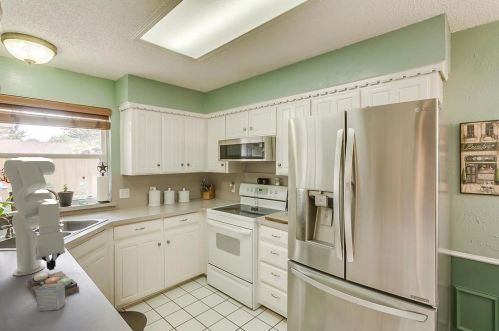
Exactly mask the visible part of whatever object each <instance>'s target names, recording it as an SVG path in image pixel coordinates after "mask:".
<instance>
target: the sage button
mask: <svg viewBox="0 0 499 331" xmlns="http://www.w3.org/2000/svg"><path fill="white" fill-rule="evenodd" d="M71 279H72V278H71V277H69V278H65V279H61V280H59V281H58V282H57V284H59V283H64V287H65V286H68V285H71Z"/></svg>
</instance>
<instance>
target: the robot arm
mask: <svg viewBox="0 0 499 331" xmlns="http://www.w3.org/2000/svg"><path fill="white" fill-rule="evenodd" d="M3 170H4V174H5V176H6V178H7V180H8V182H9V183H10V186H11V193H12V201H13V202H12V203H13V205H14V208H15V209H17V210H16V211H17V212H18V213H16V214H15V215H13V216H12V219H11V224H12V227H13V231H14V237H15V252H16V253H15V254H16V269H15V270H14V271H13V272H12V273H13V276H18V277H21V276H27V275H31V274H34V273H38V272H40V271H42V270H43V269H45V264H46V269H48V270H49V271H53V270H55V267H56V265H57V264H56V261H57V259H58V258H59V257H60V256H61V255H64V254H65V253H66V245H65V238H64V234H63V230H62V228H64V227H65V225H64V224H61V218H60V203H59V202H57V201H56V199H53V196H52V194H51V192H50V191H49V190H47V189H44V188H45V187H46V185H47V181H46V179H45V176H49V175H53V174H54V173H55V171H56V165H55V163H54V161H53V160H52V159H50V158H44V157H17V158H9V159H6V160H5V161H4V164H3ZM36 228H37V229H38V233H37V232H36V231H35V230H34V229H36ZM50 256H51V259H50ZM41 261H44V262H46V263H45V264H44V263H41Z"/></svg>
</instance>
